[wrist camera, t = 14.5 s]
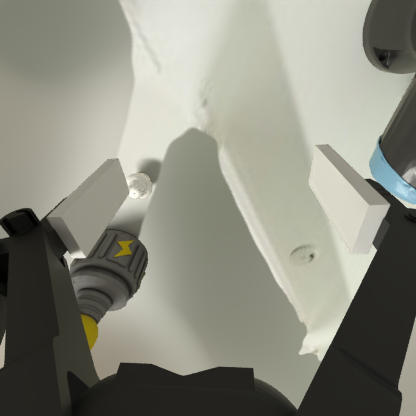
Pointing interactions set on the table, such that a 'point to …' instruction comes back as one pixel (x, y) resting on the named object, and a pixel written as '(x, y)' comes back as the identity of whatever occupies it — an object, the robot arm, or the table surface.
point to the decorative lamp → (107, 277)
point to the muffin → (139, 185)
